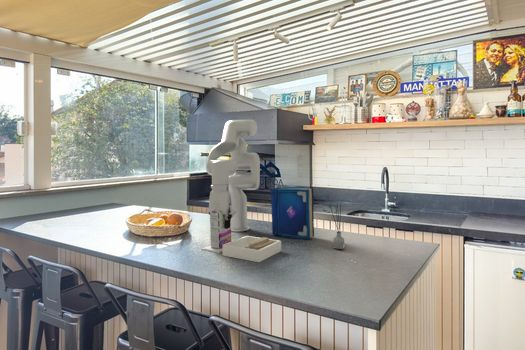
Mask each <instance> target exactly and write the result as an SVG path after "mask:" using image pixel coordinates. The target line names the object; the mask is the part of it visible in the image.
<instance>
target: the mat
mask: <svg viewBox="0 0 525 350" xmlns="http://www.w3.org/2000/svg"><path fill="white" fill-rule="evenodd" d="M201 251H207V252H210V253H211V252H212V253H217V254H220V253H223V247H222V248H220V249H219V248H211V244H209V245H207V246H203V247H201Z"/></svg>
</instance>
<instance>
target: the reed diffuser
mask: <svg viewBox="0 0 525 350" xmlns="http://www.w3.org/2000/svg"><path fill="white" fill-rule="evenodd" d="M336 205H337V206H336V207H335V214H336V215H335V216H337V218H335V216H334V213H333V210H332V206H331V205H329V207H330V211H331V214H332V217H333V220H334V223H335V226H336V230H337V232H336V235H335V237H333V241H332V242H333V243H332V245H333V248H334V249H338V250H343V249H344V248H345V246H346V242H345V239H344V237H342V232H341V223H339V221H340V218H341V215H342V213H341V211H342V209H341V208H342V207H341V206H342V203H340V205H339V204H336ZM338 209H339V212H338Z"/></svg>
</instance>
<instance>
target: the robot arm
mask: <svg viewBox="0 0 525 350" xmlns="http://www.w3.org/2000/svg"><path fill="white" fill-rule="evenodd" d="M257 132H258V124H257V121H255V120H254V119H231V120H227V121H226V122H225V124H224V127H223V131H222V137H221V140H220V141H221V142H219V143H218V144H216V145H215V146H214V147H213V148H212V149H211V150H210V151H209V153H208V156H207V161H206V166H205V170H206V172H207V174H208V175H210V176H211V185H210V189H211V191H210V192H209V197H208V198H209V199H208V202H209V203H208V207H207V208H206V211H207V212H208V215H209V216H210V212H211V211H221V214H224V216H225V219H226V220H225V229H228V228H230V219H231V232H234V233H235V232H236V233H237V232H245V231H249V230H250V229H251V227H250V226H249V225H248V209H247V208H248V206H247V205H248V197H247V195H246V194H245V192H244V191H246V190H249V191H252V190H253V191H254V190H258V189H259V187H260V181H261V180H260V178H261V177H260V174H261V168H260V167H261V160H260V156H259V154H258V153H256V152H247V147H248V146H247V145H248V144H247V142H246V141H245V139H244V138H243V137H253V136H255V135H256V134H257ZM228 154H230V159H220V158H221V157H223V156H225V155H228ZM239 171H240V172H239ZM245 171H250V172H245ZM243 190H244V191H243ZM230 213H231V214H230ZM227 215H228V216H227Z"/></svg>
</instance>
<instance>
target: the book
mask: <svg viewBox="0 0 525 350" xmlns="http://www.w3.org/2000/svg"><path fill="white" fill-rule="evenodd" d="M270 199H271V201H270V202H271V204H270V205H271V231H272V232H271V233H272V236H277V237H278V236H279V237H283V238H289V239H296V240H297V239H298V240H299V239H300V240H311V239H313V238H315V226H314V224H315V223H314V222H315V221H314V220H315V219H314V216H315V215H314V189H313V187H304V186H303V187H302V186H301V187H299V186H295V187H294V186H289V187H274V188H272V189H271V190H270Z"/></svg>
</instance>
